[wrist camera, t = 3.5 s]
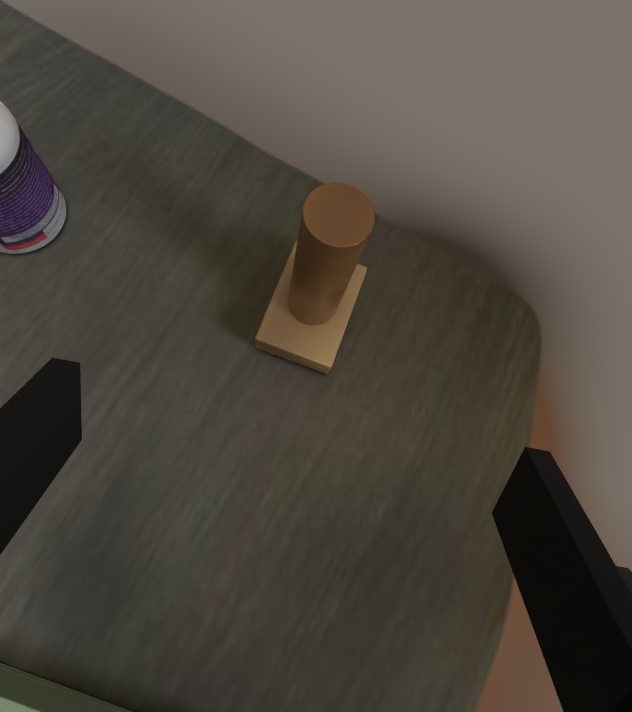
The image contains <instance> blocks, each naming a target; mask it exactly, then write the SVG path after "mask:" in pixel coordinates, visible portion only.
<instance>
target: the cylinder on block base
mask: <svg viewBox="0 0 632 712" xmlns="http://www.w3.org/2000/svg"><path fill="white" fill-rule="evenodd" d="M374 220H375V216H374V210H373V207H372V205H371V203H370V201H369V199H368V198H367V197H366V196H365V195H364V194H363V193H362V192H361V191H360V190H358V189H357V188H355V187H353V186H350V185H347V184H343V183H329V184H324V185H322V186H319V187H318V188H316V189H315V190H313V191H312V192H311V193H310V194H309V195H308V197H307V198H306V200H305V202H304V205H303V211H302V217H301V223H300V229H299V235H298V241H295V244H294V246H293V248H292V251H291V253H290V256H289V258H288V260H287V263H286V265H285V267H284V270H283V272H282V275H281V277H280V279H279V282H278V284H277V286H276V289H275V291H274V294H273V296H272V298H271V301H270V303H269V305H268V308H267V310H266V313H265V315H264V317H263V320H262V322H261V324H260V327H259V329H258V332H257V334H256V336H255V347H256V348H259V349H260V350H262V351H265V352H268V353H270V354H273V355H276V356H278V357H281V358H283V359H286V360H289V361H291V362H294V363H297V364H299V365H302V366H304V367H307V368H310V369H312V370H315V371H318V372H320V373H324V374H328V372H329V371H330V369H331V367H332V365H333V362H334V359H335V357H336V354H337V351H338V348H339V346H340V343H341V340H342V337H343V335H344V332H345V329H346V326H347V324H348V321H349V318H350V315H351V313H352V310H353V307H354V304H355V302H356V299H357V296H358V293H359V291H360V288H361V285H362V282H363V280H364V277H365V274H366V271H367V267H365V266H362V265H360V264H357V263H358V261H359V259H360V256H361V254H362V252H363V249H364V247H365V245H366V242H367V240H368V238H369V236H370V233H371V231H372V229H373V226H374Z"/></svg>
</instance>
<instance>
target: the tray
mask: <svg viewBox="0 0 632 712" xmlns="http://www.w3.org/2000/svg"><path fill="white" fill-rule="evenodd" d="M0 712H132V711H130V710H127V709H124V708H122V707H119V706H116V705H114V704H111V703H108V702H105V701H103V700H100V699H97V698H95V697H92V696H89V695H87V694H84V693H81V692H78V691H76V690H73V689H70V688H68V687H65V686H62V685H59V684H57V683H54V682H51V681H49V680H46V679H43V678H41V677H38V676H35V675H32V674H30V673H27V672H24V671H22V670H19V669H16V668H14V667H11V666H8V665H5V664H3V663H0Z"/></svg>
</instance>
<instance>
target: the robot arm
mask: <svg viewBox="0 0 632 712" xmlns="http://www.w3.org/2000/svg"><path fill="white" fill-rule="evenodd" d="M81 440H82V429H81V384H80V363H78V362H73V361H67V360H62V359H57V358H52V359H51V360H50V361H48V362H47V363H46V364H45V365H44V366H43V367H42V368H41V369H40V370H39V371H38V372H37V373H36V374H35V375H34V376H33V377H32V378H31V379H30V380H29V381H28V382H27V383H26V384H25V385H24V386H23V387H22V388H21V389H20V390H19V391H18V392H17V393H16V394H15V395H14V396H13V397H12V398H11V399H10V400H9V401H8V402H7V403H6V404H4V405H3V406H2V407H1V408H0V554H1V553H2V552H3V550H4V549H5V547H6V546H7V545H8V543H9V542H10V540H11V539H12V538H13V536H14V535H15V533H16V532H17V530H18V529H19V528H20V526H21V525H22V523H23V522H24V521H25V519H26V518H27V516H28V515H29V513H30V512H31V511H32V509H33V508H34V506H35V505H36V504H37V502H38V501H39V499H40V498H41V497H42V495H43V494H44V492H45V491H46V489H47V488H48V487H49V485H50V484H51V482H52V481H53V480H54V478H55V477H56V475H57V474H58V473H59V471H60V470H61V468H62V467H63V465H64V464H65V463H66V461H67V460H68V458H69V457H70V456H71V454H72V453H73V451H74V450H75V448H76V447H77V446H78V444H79V443H80V441H81ZM492 515H493V518H494V521H495V523H496V526H497V529H498V532H499V534H500V537H501V540H502V543H503V546H504V548H505V551H506V554H507V557H508V559H509V562H510V565H511V568H512V570H513V573H514V576H515V579H516V581H517V584H518V587H519V590H520V592H521V595H522V598H523V601H524V604H525V606H526V609H527V612H528V614H529V617H530V620H531V623H532V626H533V628H534V631H535V634H536V637H537V640H538V642H539V645H540V648H541V651H542V653H543V656H544V659H545V662H546V664H547V667H548V670H549V673H550V676H551V678H552V681H553V684H554V687H555V690H556V692H557V695H558V697H559V700H560V703H561V706H562V709H563V712H632V572H631V571H630V570H629V569H628V568H623V567H618V566H616V565H615V564H614V562H613V560H612V558H611V557H610V555H609V553H608V552H607V550H606V548H605V546H604V545H603V543H602V541H601V539H600V538H599V536H598V534H597V533H596V531H595V529H594V527H593V526H592V524H591V522H590V520H589V519H588V517H587V515H586V514H585V512H584V510H583V508H582V507H581V505H580V503H579V501H578V500H577V498H576V496H575V495H574V493H573V491H572V489H571V488H570V486H569V484H568V482H567V481H566V479H565V477H564V476H563V474H562V472H561V470H560V468H559V467H558V465H557V463H556V462H555V460H554V458H553V456H552V455H551V453H550V452H549V451H543V450H539V449H533V448H528V447H525V449H524V451H523V453H522V454H521V456H520V458H519V460H518V462H517V464H516V466H515V468H514V470H513V472H512V474H511V476H510V478H509V480H508V482H507V484H506V486H505V488H504V490H503V492H502V494H501V496H500V498H499V500H498V502H497V504H496V506H495V508H494V510H493V512H492Z"/></svg>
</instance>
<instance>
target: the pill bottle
mask: <svg viewBox="0 0 632 712" xmlns="http://www.w3.org/2000/svg"><path fill="white" fill-rule="evenodd" d="M65 218H66V203H65V199H64V197H63V194H62V193H61V191H60V189H59V187H58V185H57V184H56V182H55V181H54V179H53V178H52V176H51V175H50V173H49V172H48V170H47V168H46V167H45V165H44V164H43V162H42V161H41V159H40V158H39V156H38V154H37V153H36V151H35V150H34V148H33V147H32V145H31V143H30V142H29V140H28V139H27V137H26V136H25V134H24V132H23V131H22V129H21V127H20V126H19V124H18V123H17V121H16V119H15V118H14V116H13V115H12V114H11V112H10V111H9V110H8V108H7V107H6V106H5V105H4V104H3V103H2V102H1V101H0V252H2V253H9V254H20V253H26V252H31V251H34V250H37V249H39V248H41V247H43V246H45V245H46V244H48V243H49V242H50V241H52V240H53V239H54V238H55V237H56V236H57V234H58V233H59V231H60V230H61V228H62V226H63V224H64V221H65Z"/></svg>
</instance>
